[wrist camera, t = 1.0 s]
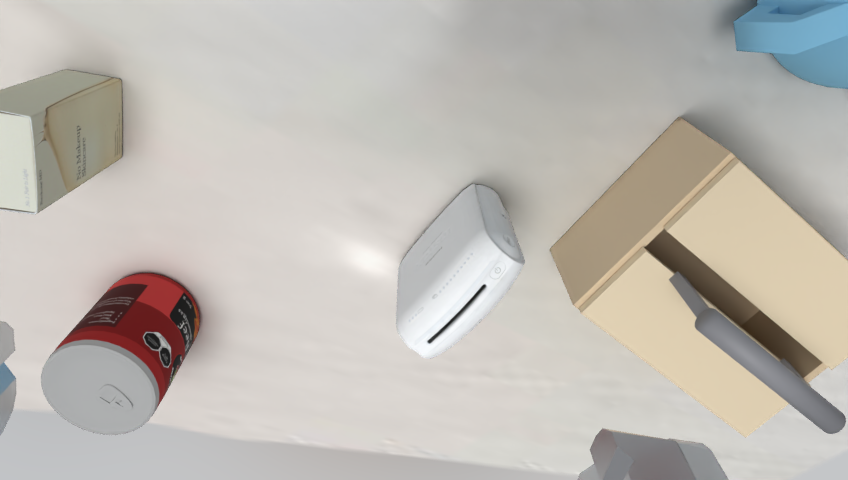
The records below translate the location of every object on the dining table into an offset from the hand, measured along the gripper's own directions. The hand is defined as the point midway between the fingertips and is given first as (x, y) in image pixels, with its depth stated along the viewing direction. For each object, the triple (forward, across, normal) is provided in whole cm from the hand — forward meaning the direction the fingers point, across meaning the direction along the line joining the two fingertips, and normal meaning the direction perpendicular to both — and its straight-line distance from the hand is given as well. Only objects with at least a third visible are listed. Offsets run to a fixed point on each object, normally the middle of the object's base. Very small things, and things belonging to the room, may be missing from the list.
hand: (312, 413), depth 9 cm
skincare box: (+41, +21, +10) cm, 47 cm away
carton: (+41, -27, +11) cm, 50 cm away
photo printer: (+41, -8, +14) cm, 44 cm away
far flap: (+32, -25, +15) cm, 43 cm away
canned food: (+42, +15, +26) cm, 51 cm away
